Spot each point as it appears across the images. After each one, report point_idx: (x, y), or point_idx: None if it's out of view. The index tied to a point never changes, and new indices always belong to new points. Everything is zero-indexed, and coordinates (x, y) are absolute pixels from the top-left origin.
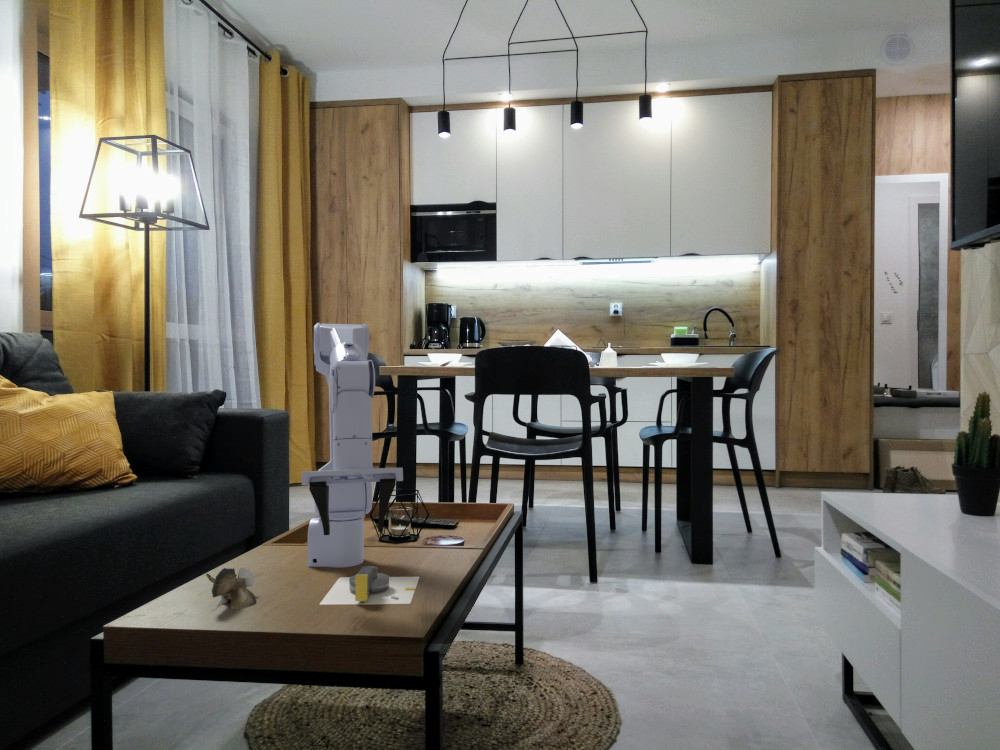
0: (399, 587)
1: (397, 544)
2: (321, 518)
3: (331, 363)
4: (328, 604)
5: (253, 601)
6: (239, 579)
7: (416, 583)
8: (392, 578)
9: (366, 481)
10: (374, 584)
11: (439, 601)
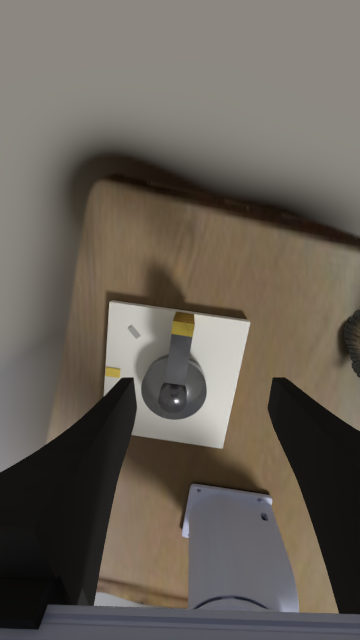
0: None
1: (144, 599)
2: (320, 405)
3: None
4: (235, 319)
5: (354, 345)
6: None
7: None
8: (142, 428)
9: (135, 613)
10: (164, 360)
11: (72, 336)
